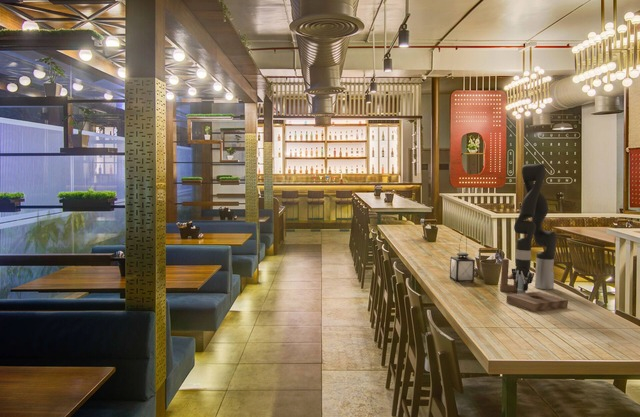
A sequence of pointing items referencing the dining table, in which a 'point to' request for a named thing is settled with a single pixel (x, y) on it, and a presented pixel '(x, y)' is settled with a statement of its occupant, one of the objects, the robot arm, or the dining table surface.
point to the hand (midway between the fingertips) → (521, 289)
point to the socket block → (537, 301)
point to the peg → (520, 284)
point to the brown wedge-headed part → (506, 278)
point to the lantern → (462, 267)
